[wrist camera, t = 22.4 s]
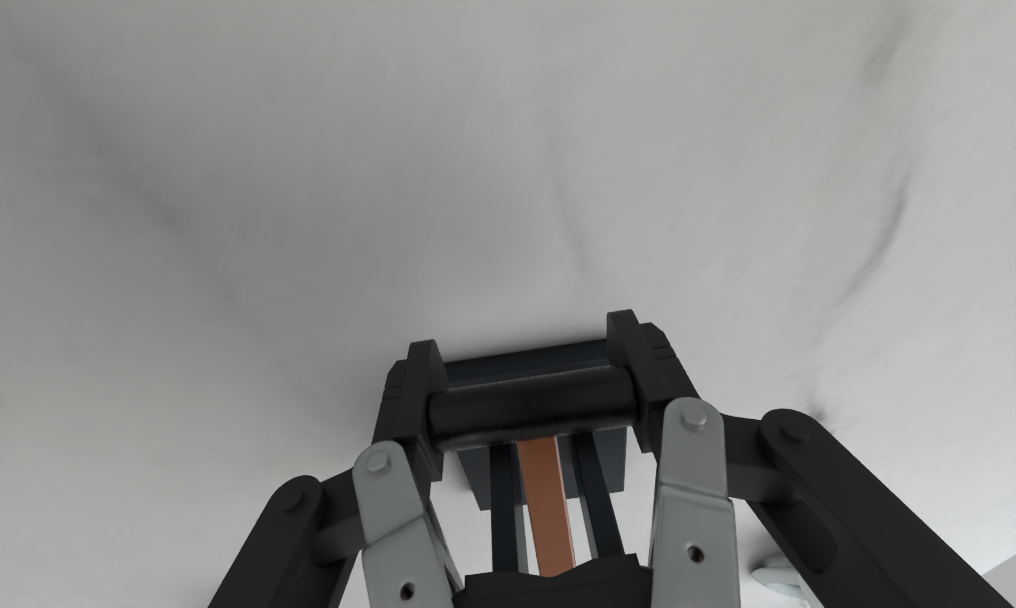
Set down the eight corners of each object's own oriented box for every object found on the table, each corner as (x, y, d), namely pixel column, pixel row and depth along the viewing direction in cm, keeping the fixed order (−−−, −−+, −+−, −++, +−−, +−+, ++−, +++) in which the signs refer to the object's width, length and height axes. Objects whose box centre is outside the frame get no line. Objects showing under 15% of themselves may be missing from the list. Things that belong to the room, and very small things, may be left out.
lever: (436, 377, 12) (418, 416, 10) (616, 350, 12) (641, 383, 10) (506, 704, 15) (505, 793, 13) (653, 687, 15) (679, 774, 13)
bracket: (431, 364, 19) (378, 796, 9) (623, 335, 18) (803, 751, 8) (479, 492, 26) (482, 808, 16) (618, 473, 26) (711, 784, 16)
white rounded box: (942, 695, 24) (963, 711, 30) (894, 527, 29) (920, 569, 35) (731, 640, 32) (780, 662, 38) (723, 515, 37) (767, 551, 43)
